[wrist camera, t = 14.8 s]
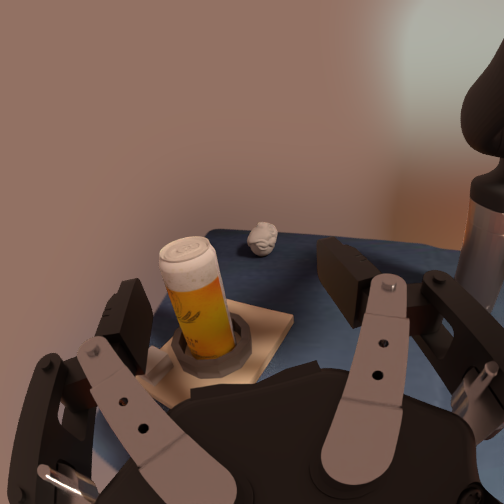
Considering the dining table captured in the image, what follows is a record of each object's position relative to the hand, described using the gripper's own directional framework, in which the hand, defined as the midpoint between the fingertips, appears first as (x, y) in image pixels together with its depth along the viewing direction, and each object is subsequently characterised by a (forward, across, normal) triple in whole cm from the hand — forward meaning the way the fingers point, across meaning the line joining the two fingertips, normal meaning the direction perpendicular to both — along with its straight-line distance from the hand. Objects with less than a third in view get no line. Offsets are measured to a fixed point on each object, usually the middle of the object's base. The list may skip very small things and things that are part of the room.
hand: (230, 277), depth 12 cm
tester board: (+15, +4, +22) cm, 27 cm away
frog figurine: (+41, -8, +22) cm, 47 cm away
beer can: (+15, +4, +20) cm, 25 cm away
